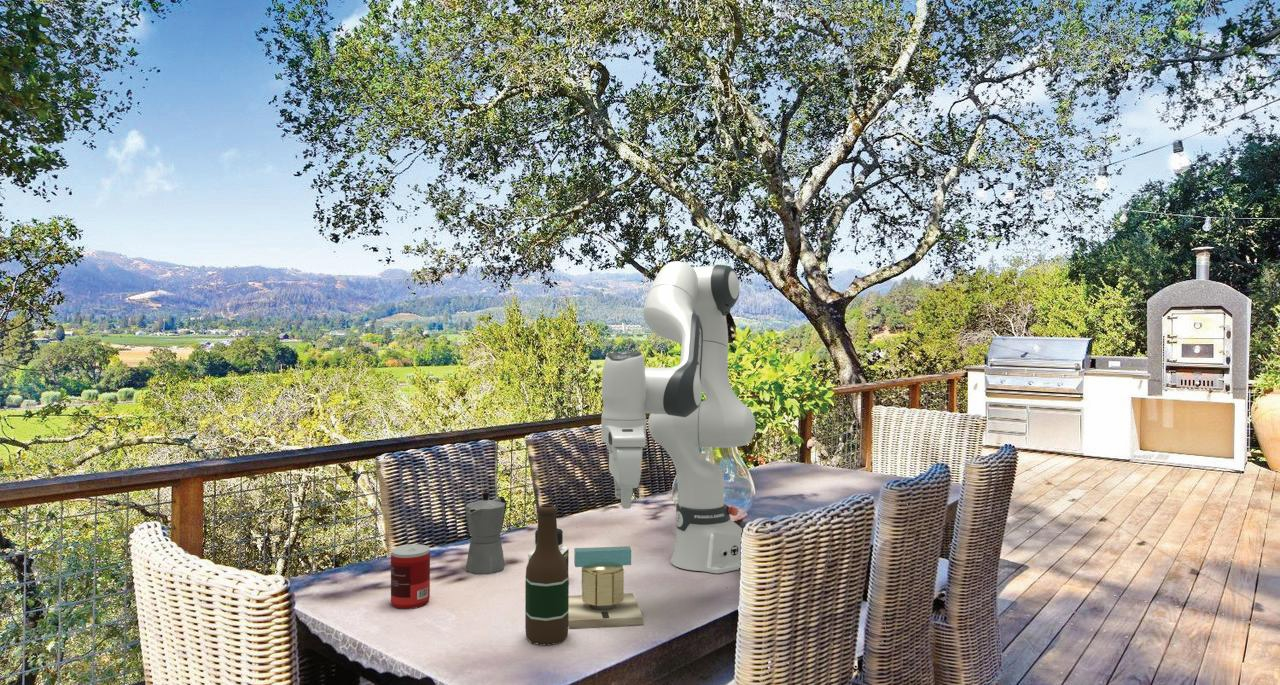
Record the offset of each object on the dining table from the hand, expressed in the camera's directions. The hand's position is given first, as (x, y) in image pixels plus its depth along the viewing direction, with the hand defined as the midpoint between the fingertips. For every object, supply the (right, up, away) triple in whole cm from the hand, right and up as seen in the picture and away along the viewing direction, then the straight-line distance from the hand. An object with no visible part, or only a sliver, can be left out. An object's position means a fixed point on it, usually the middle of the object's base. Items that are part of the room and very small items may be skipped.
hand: (622, 502), depth 157 cm
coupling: (-4, -19, 0) cm, 19 cm away
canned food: (-44, -22, +5) cm, 49 cm away
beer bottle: (-14, -22, -13) cm, 29 cm away
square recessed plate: (-4, -22, 0) cm, 22 cm away
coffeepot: (-32, -22, +30) cm, 49 cm away
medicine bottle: (-17, -22, +19) cm, 34 cm away
